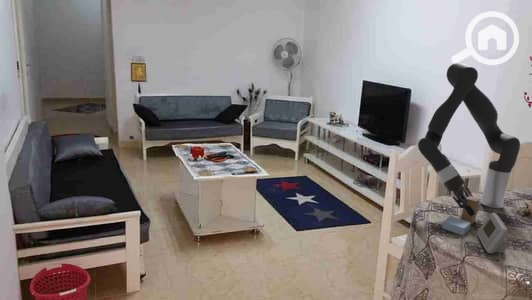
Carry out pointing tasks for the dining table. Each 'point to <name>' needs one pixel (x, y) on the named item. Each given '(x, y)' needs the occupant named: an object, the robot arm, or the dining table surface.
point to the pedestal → (456, 225)
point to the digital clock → (493, 234)
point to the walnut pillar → (474, 205)
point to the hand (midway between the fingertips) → (474, 213)
